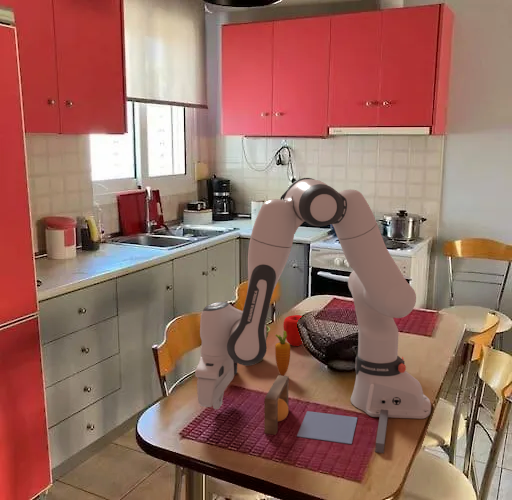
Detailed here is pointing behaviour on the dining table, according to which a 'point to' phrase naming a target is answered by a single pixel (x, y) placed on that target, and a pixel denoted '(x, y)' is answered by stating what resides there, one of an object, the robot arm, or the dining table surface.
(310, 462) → the dining table surface
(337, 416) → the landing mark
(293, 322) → the apple
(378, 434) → the stopper wall
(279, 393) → the bridge
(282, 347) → the carrot
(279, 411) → the ball
